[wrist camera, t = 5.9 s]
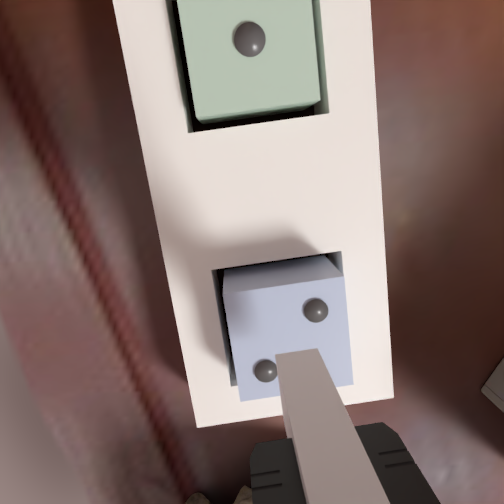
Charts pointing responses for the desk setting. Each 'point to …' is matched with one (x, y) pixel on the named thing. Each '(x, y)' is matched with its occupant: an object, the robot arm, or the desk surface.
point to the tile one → (249, 57)
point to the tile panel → (264, 197)
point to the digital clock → (496, 386)
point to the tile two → (286, 320)
